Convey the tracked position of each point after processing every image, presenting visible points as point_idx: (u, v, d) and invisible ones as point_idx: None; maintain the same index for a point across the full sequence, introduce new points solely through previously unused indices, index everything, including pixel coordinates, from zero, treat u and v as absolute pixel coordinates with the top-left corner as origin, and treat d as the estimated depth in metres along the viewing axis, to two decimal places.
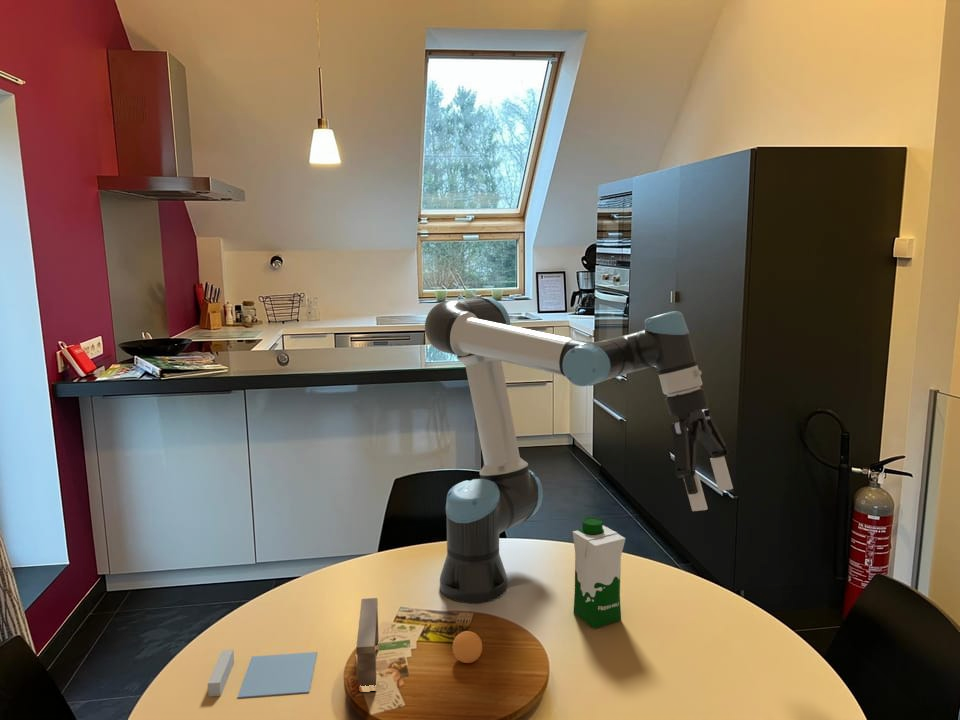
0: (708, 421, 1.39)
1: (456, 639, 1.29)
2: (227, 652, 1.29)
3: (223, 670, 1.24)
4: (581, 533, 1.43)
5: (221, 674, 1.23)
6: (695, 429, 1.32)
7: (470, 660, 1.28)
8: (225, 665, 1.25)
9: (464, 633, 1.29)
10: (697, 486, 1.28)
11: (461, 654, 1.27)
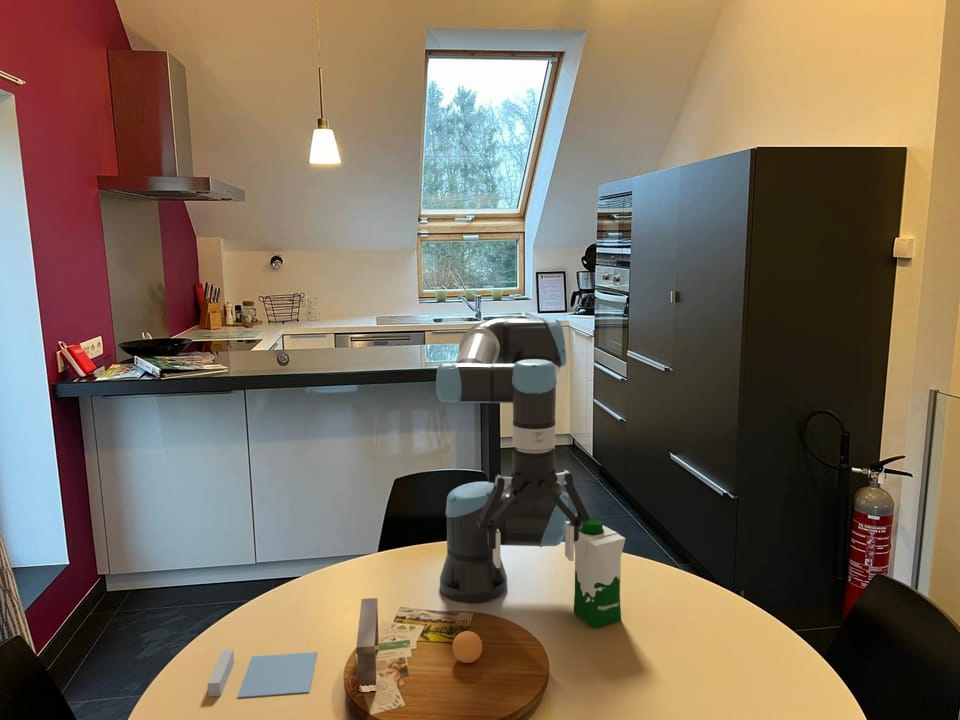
0: (566, 486, 1.26)
1: (456, 639, 1.29)
2: (227, 652, 1.29)
3: (223, 670, 1.24)
4: (581, 533, 1.43)
5: (221, 674, 1.23)
6: (521, 490, 1.24)
7: (470, 660, 1.28)
8: (225, 665, 1.25)
9: (464, 633, 1.29)
10: (495, 543, 1.25)
11: (461, 654, 1.27)
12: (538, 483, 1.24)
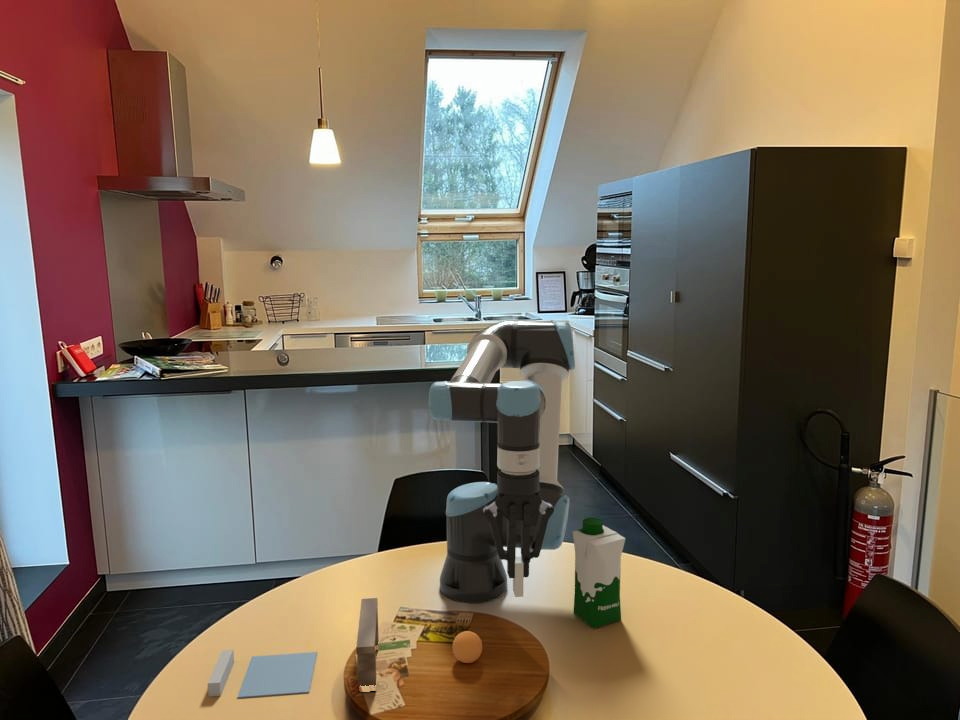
0: (542, 516, 1.26)
1: (456, 639, 1.29)
2: (227, 652, 1.29)
3: (223, 670, 1.24)
4: (581, 533, 1.43)
5: (221, 674, 1.23)
6: (509, 514, 1.25)
7: (470, 660, 1.28)
8: (225, 665, 1.25)
9: (464, 633, 1.29)
10: (514, 573, 1.27)
11: (461, 654, 1.27)
12: (524, 502, 1.25)
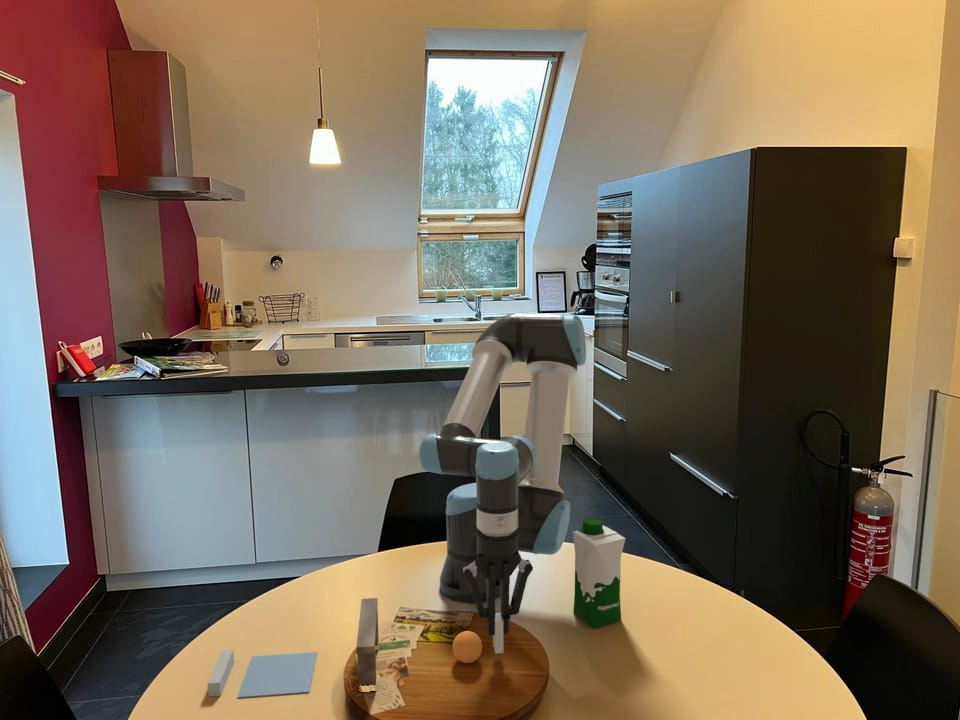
0: (521, 574, 1.28)
1: (456, 639, 1.29)
2: (227, 652, 1.29)
3: (223, 670, 1.24)
4: (581, 533, 1.43)
5: (221, 674, 1.23)
6: (488, 574, 1.26)
7: (470, 660, 1.28)
8: (225, 665, 1.25)
9: (464, 633, 1.29)
10: (494, 630, 1.29)
11: (461, 654, 1.27)
12: (503, 561, 1.27)
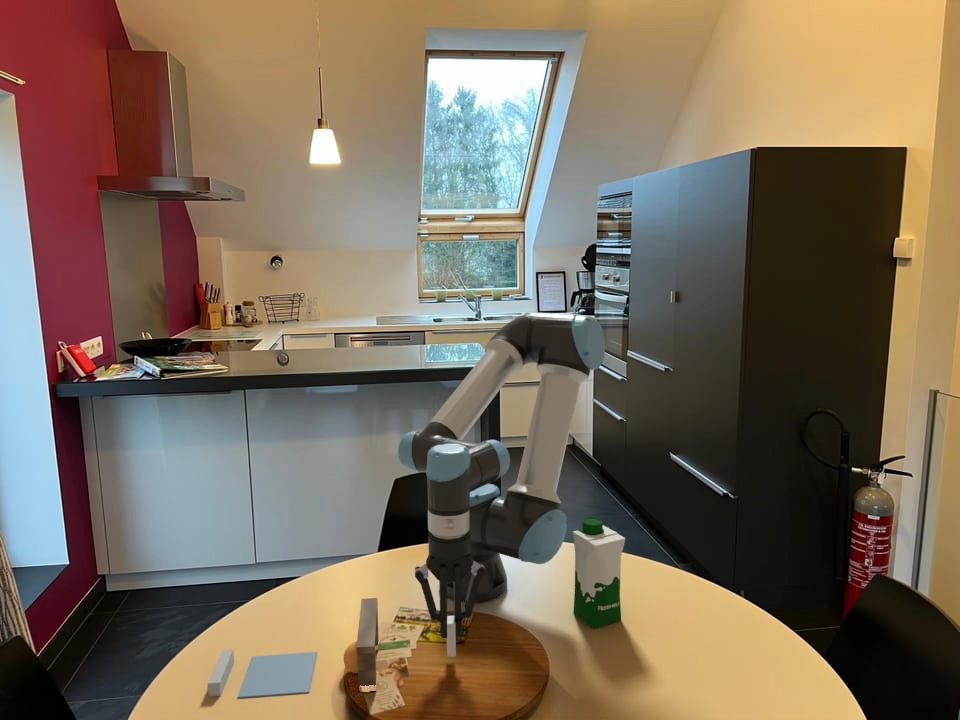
0: (473, 577, 1.27)
1: (344, 655, 1.26)
2: (227, 652, 1.29)
3: (223, 670, 1.24)
4: (581, 533, 1.43)
5: (221, 674, 1.23)
6: (440, 576, 1.25)
7: None
8: (225, 665, 1.25)
9: (350, 646, 1.26)
10: (447, 633, 1.28)
11: (351, 668, 1.24)
12: (454, 564, 1.26)
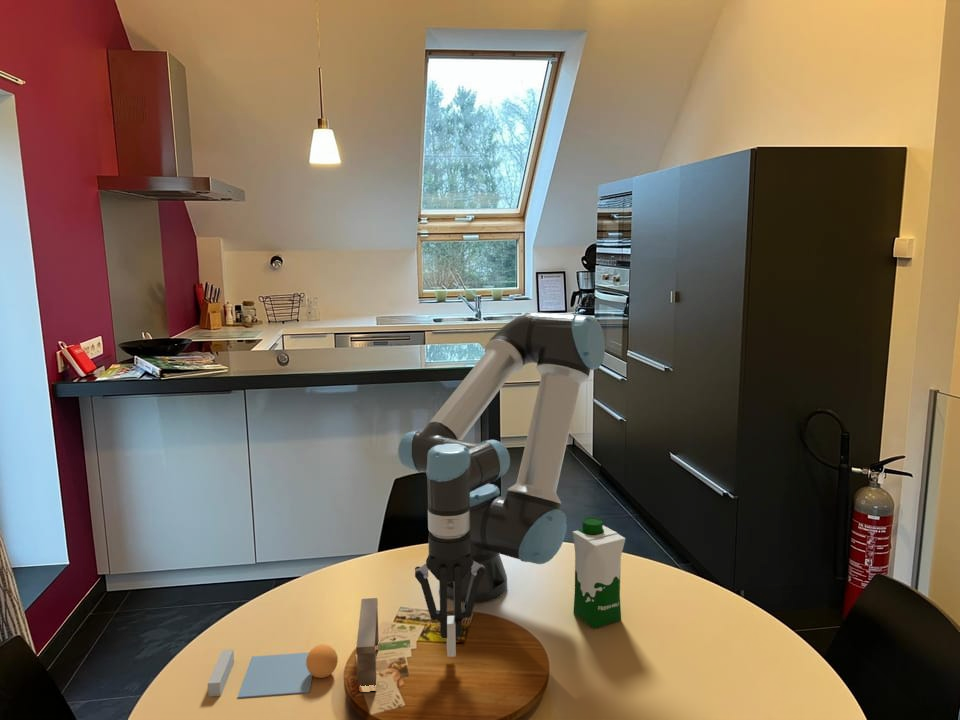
0: (473, 577, 1.27)
1: None
2: (227, 652, 1.29)
3: (223, 670, 1.24)
4: (581, 533, 1.43)
5: (221, 674, 1.23)
6: (440, 576, 1.25)
7: (322, 662, 1.23)
8: (225, 665, 1.25)
9: None
10: (447, 633, 1.28)
11: (328, 670, 1.24)
12: (454, 564, 1.26)
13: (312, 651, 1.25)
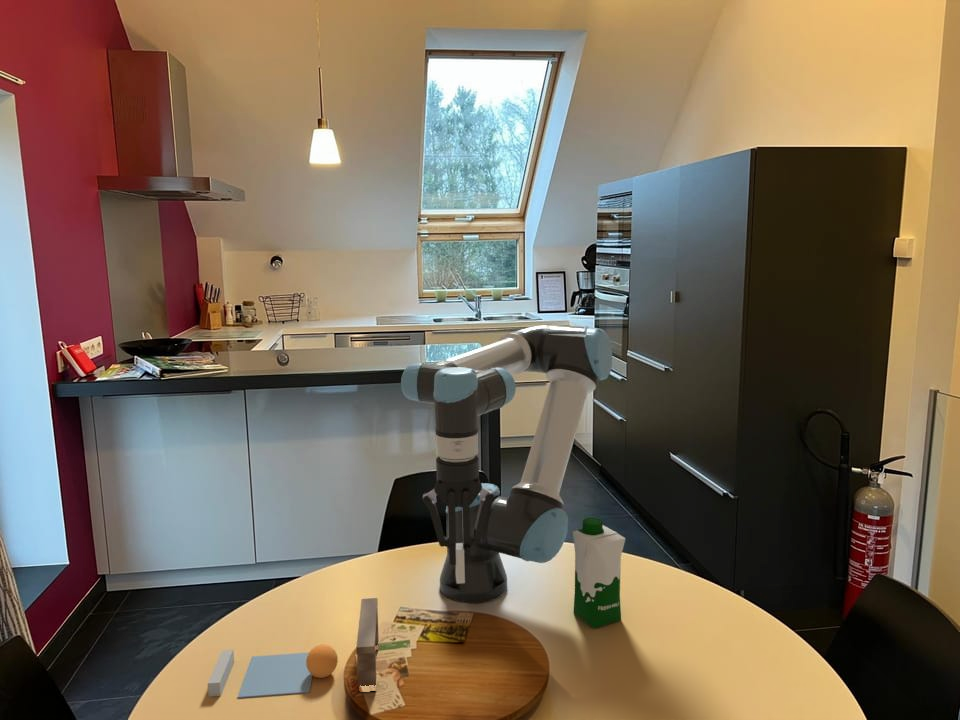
0: (482, 502, 1.25)
1: None
2: (227, 652, 1.29)
3: (223, 670, 1.24)
4: (581, 533, 1.43)
5: (221, 674, 1.23)
6: (448, 501, 1.24)
7: (322, 662, 1.23)
8: (225, 665, 1.25)
9: None
10: (455, 559, 1.27)
11: (328, 670, 1.24)
12: (463, 489, 1.24)
13: (312, 651, 1.25)
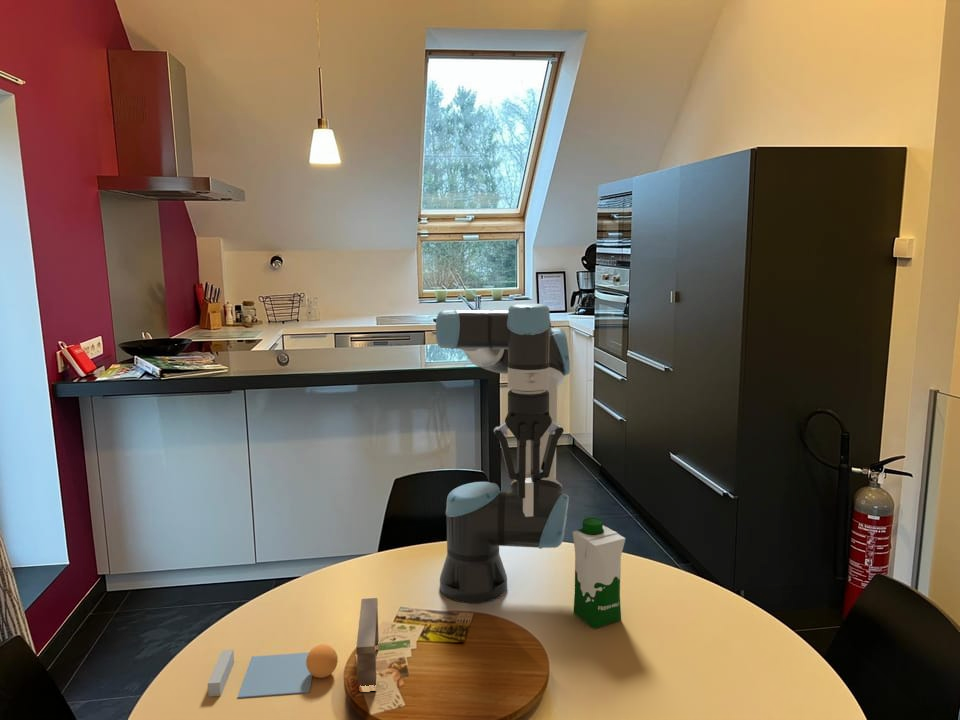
0: (551, 436, 1.28)
1: None
2: (227, 652, 1.29)
3: (223, 670, 1.24)
4: (581, 533, 1.43)
5: (221, 674, 1.23)
6: (519, 434, 1.27)
7: (322, 662, 1.23)
8: (225, 665, 1.25)
9: None
10: (524, 492, 1.29)
11: (328, 670, 1.24)
12: (534, 422, 1.27)
13: (312, 651, 1.25)
